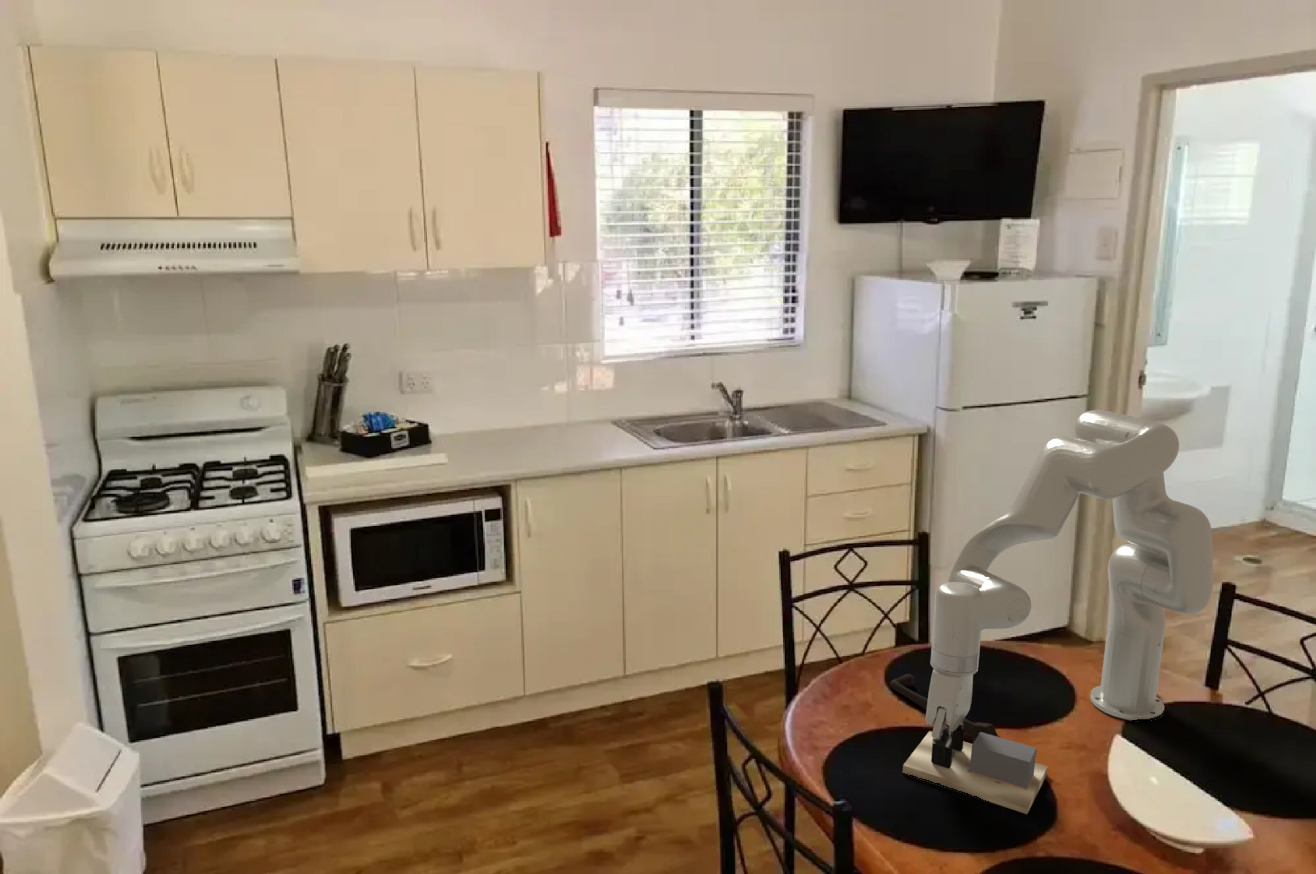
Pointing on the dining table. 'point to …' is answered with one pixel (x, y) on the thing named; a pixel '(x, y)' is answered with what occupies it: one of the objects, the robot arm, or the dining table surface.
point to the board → (972, 777)
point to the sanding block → (1003, 760)
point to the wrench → (908, 680)
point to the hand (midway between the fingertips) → (947, 755)
